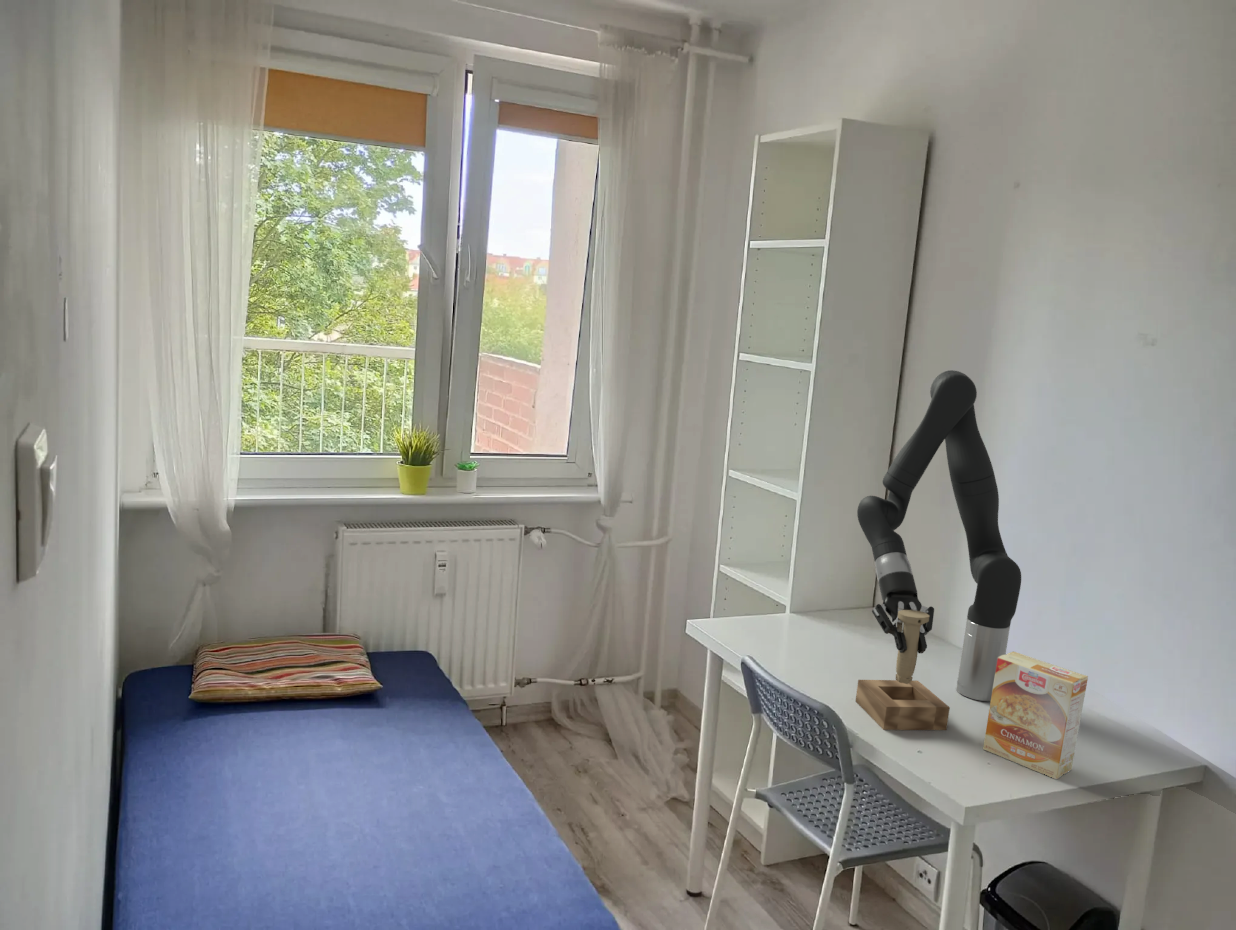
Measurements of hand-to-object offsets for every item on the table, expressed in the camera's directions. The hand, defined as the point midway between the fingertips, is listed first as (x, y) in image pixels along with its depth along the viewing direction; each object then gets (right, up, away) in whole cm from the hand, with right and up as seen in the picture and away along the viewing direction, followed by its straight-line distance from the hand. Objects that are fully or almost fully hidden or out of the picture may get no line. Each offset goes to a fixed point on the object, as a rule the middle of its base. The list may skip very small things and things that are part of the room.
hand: (913, 651), depth 201 cm
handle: (-1, -7, +3) cm, 8 cm away
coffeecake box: (+19, -19, -12) cm, 29 cm away
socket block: (-2, -14, +4) cm, 15 cm away
